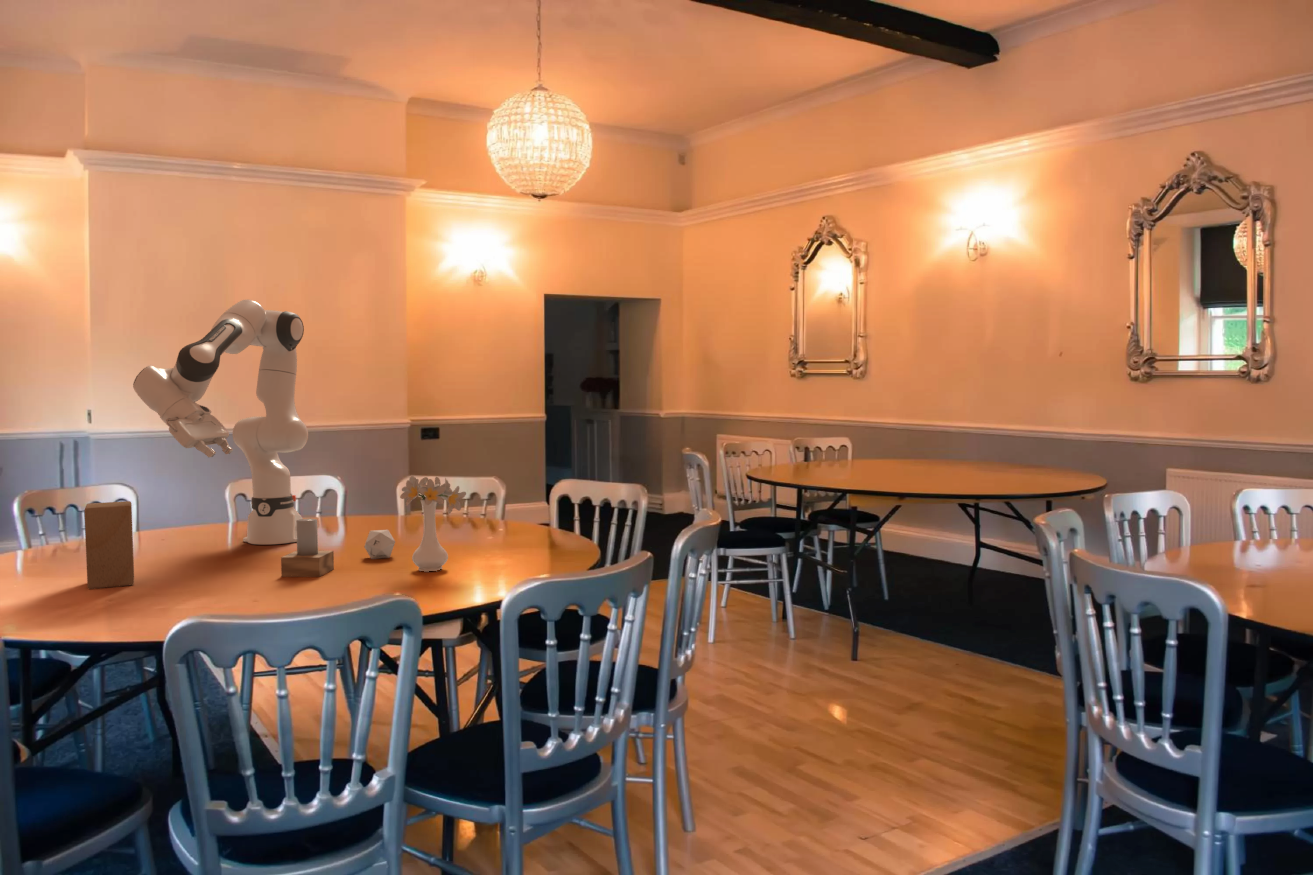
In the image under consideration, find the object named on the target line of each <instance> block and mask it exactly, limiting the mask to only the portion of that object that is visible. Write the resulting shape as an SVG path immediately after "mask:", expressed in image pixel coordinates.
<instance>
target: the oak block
mask: <svg viewBox="0 0 1313 875" xmlns="http://www.w3.org/2000/svg"><path fill="white" fill-rule="evenodd" d="M334 554H335V553H334V550H318V554H316V555H310V556H299V555H297V550H294V551H292V552H290V553H288V554H286V555H283V556H281V557H280V560H281V561H280V565H281V566H280V569H281V570H280V571H281V577H285V578H286V577H288V578H289V577H292V578H293V577H294V578H295V577H296V578H298V577H299V578H300V577H302V578H303V577H304V578H307V577H308V578H313V577H314V578H320V577H323V576H324V575H326V574H328V573H330V572H331V571H333V570H334V568H335V564H334V562H335V561H334V559H335V556H334Z"/></svg>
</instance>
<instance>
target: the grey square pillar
mask: <svg viewBox="0 0 1313 875" xmlns="http://www.w3.org/2000/svg"><path fill="white" fill-rule="evenodd" d="M296 528H297V542H296V551H297V555H299V556H310V555H316V554H318V551H319V541H318V540H319V534H318V533H319V532H318V519H317V518H303V519H299V520H296Z"/></svg>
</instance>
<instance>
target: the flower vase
mask: <svg viewBox="0 0 1313 875" xmlns="http://www.w3.org/2000/svg"><path fill="white" fill-rule="evenodd" d="M444 478H445V479H444V480H445V481H444V483H442V484H441V479H440V477H439V476H435V477H434V480H433V479H431V478H429V477H428V476H426V477H423V478H421V479H420V480H419V479H418V478H416V477H415V476H413V475H410V477H409V479H408V480H406V483H405V486H403V487H402V488H401V491H402V493H401V494H400V497H399V498H400V500H401V499H402V500H405V499H406V502H405V506H406V507H408V506H409V505H410V503H412V501H413V500H415V499H416V498H417V497H421V499H420V503H421V506H422V511H423V534H422V539H421V541H420V544H419V546H418V547H417V548H416V549H415V550H414V552H413V553H412V556H411V560H412V562H413V563H414V564H415V566H416V567H418V568H417V569H418V571H419V572H421V571H424V573H430V572H429V571H436V572H438V571H437V570H440V569H443V566H444V565H445V564H446V563H447V562H448V559H449V554H448V552H447V551H446V549H445V548H444V547H443V546H442V545H441V543H440V542H439V539H438V537H437V525H436V511H437V510H436V508H437V504H439V505H443V504H444V503H445V501H446V502H447V503H448V504H447V505H448V507H447V513H448V514H451V513H452V512H453V509H455V510H457V512H459V511H461V510H462V503H461V502H460V500H462V499H464V498H465V497H466V495H467V492H466V491H462V492H461V491H460V486H459V485H457V486H456V487H455V488H454V490H452V489H451V484H450V483H449V481H448V479H447V478H446V477H444ZM459 491H460V492H459ZM444 500H445V501H444ZM440 571H441V570H440Z"/></svg>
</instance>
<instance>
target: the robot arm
mask: <svg viewBox="0 0 1313 875" xmlns="http://www.w3.org/2000/svg"><path fill="white" fill-rule="evenodd" d="M304 330H305V329H304V323H303V319H301V317H300V316H299V315H298V313H294V312H292V311H286V310H285V311H281V310H272V309H265V308H264V307H263V306H262V305H261V304H260V302H259V303H258V302H257V301H255V300H252V299H241V300H240V301H237V302H236V303H235V304H233V305H232V306H230V307H229V308H228V309H227V310H225V312H223V313H222V314H221V316H219V318H218V319H217V320H216V321H215V322H214V323H213V325H212V327H211V330H210V331H208V333H207V334H206V335H205V336H204V337H203V338H201V339H199V340H198V341H195V342H192V343H189V344H187V345H185V346H184V347H182V348H181V349H180V350H179V351H178V355H177V356H176V357H177V358H176V362H175V364H174V366H173V367H172V368H170V367H169V368H160V367H156V366H153V365H147V366H146V367H144V368H142V370H140V372H138V374H137V375H136V377H135V379H134V381H133V384H132V385H133V386H132V387H133V389H134V392H135V393H136V394H137V396H138V397H139V398H140V400H142V402H143V403H144V404H145V405H146V406H147V407H148V408H149V409H150V410H151V411H153V412H155V413H156V414H157V415H158V416H159V418H160V420H162V422H163V423H165V425H167V426H168V432H169V433H170V434H171V436H172V437H173V438H174V439H175V440H176V441H177V442H178V444H180V445H181V446H182V447H183V448H185V449H192V448H194V449H196V450H197V451H199V452H201V453H202V454H204V455H205V456H206V457H207V458H213V457H214V456H215V455H216V454H217V452H216V451H215V450H214V449H213V448H212V447H211V448H210V447H209V446H211V445H218V447H221V450H222V452H223V453H224V454H225V455H230V454H232V452H233V451H234V449H233V447H231V446H230V444H229V442H228V440H227V439H228V437H230V433H229V431H228V429H227V428H226V427H225V426H224V425H223V423H221V422H220V420H219V419H218V418H217V417H216V416H214V415H212V414H211V413H212V411H211V409H210V408H208V407H207V406H205V405H201V404H198V403H197V402H198V401H199V400H201V399H202V397H204V395H205V393H206V392H207V390H208V387H209V385H210V383H211V381H212V380H213V377H214V375H215V374H216V372H217V371H218V369H219V366H220V361H221V356H222V355H223V354H224V353H225V354H228V355H229V354H230V355H237V354H239V353H241V352H243V351H244V350H246V349H247V348H248V347H249V346H252V347H253V346H254V347H262V353H261V356H260V361H259V367H258V374H257V384H256V390H255V394H256V397H257V399H258V400H259V401H260V402H262V403H263V405H264V410H265V416H250V417H246V418H242V419H240V420H238V421H237V422H236V423H235V424H234V426H233V429H232V439H233V443H234V444H235V445H236V446H237V447H238V448H239V449H240V450H241V451H242V453H243V455H244V456H245V458H246V460H247V462H248V465H249V468H250V474H251V484H252V497H251V501H250V504H251V509H252V511H251V512H250V513H249V514H248V516H247V527H246V528H247V529H246V530H247V531H246V536H245V537H243V539H242V541H243V542H245V543H248V544H251V545H281V544H290V543H297V528H296V520H299V519H304V518H303V516H302V515H301V514H300V513H299V512H298V510H296V509H295V507H294V506H295V502H296V500H297V495H295V494H294V495H292V492H291V491H292V486H291V472H290V470H289V468H288V467H287V466H286V465H284V463H283V462H282V461H281V459H280V456H279V454H278V453H291V452H292V453H293V452H297V451H301V450H302V449H303V448H304V447H305V446H306V444H307V442H308V440H309V430H308V427H307V425H306V423H305V422H303V420H301V418H300V416H299V414H298V412H297V408H296V402H295V391H296V390H295V389H296V380H297V372H298V358H297V357H298V355H297V354H298V353H297V347H298V345H299V343H300V342H301V341H302V339H303V337H304V336H303V335H304V333H305V332H304Z"/></svg>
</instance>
